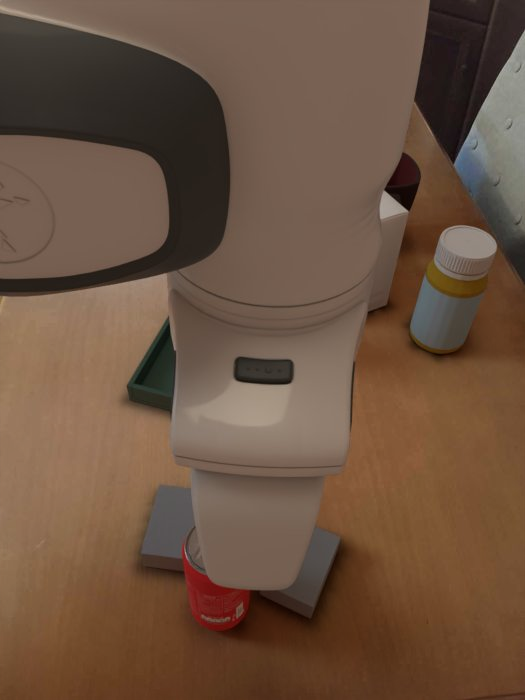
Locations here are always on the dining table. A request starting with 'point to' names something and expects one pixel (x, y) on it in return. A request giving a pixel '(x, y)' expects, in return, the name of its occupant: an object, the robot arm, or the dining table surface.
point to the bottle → (452, 289)
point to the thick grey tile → (168, 528)
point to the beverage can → (210, 591)
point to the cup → (404, 182)
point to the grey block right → (309, 575)
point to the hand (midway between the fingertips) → (257, 459)
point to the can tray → (155, 372)
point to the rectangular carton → (387, 249)
